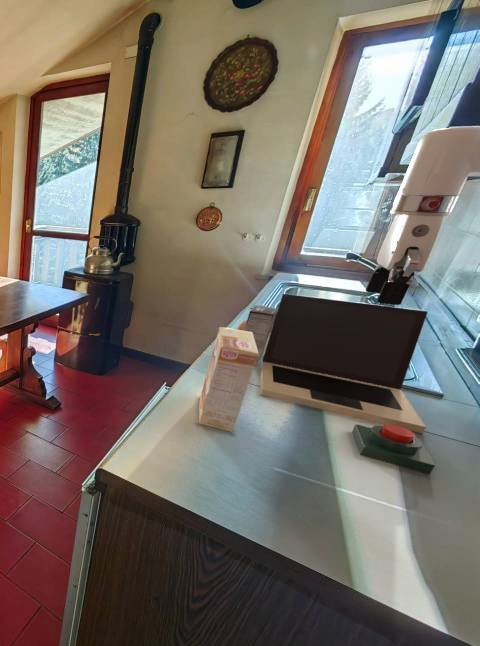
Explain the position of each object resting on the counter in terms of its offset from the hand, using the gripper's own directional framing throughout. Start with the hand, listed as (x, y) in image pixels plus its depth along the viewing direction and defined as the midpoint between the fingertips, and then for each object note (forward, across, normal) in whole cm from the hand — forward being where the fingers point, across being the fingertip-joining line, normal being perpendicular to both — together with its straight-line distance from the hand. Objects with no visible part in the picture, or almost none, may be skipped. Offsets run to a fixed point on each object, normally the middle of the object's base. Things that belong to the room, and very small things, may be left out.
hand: (381, 297), depth 77 cm
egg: (+31, +49, +16) cm, 60 cm away
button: (+27, -4, -10) cm, 29 cm away
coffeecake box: (+31, -8, +21) cm, 38 cm away
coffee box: (+31, +37, +15) cm, 50 cm away
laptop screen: (+19, +34, -3) cm, 39 cm away
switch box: (+31, -4, -10) cm, 32 cm away
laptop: (+31, +20, -3) cm, 37 cm away
